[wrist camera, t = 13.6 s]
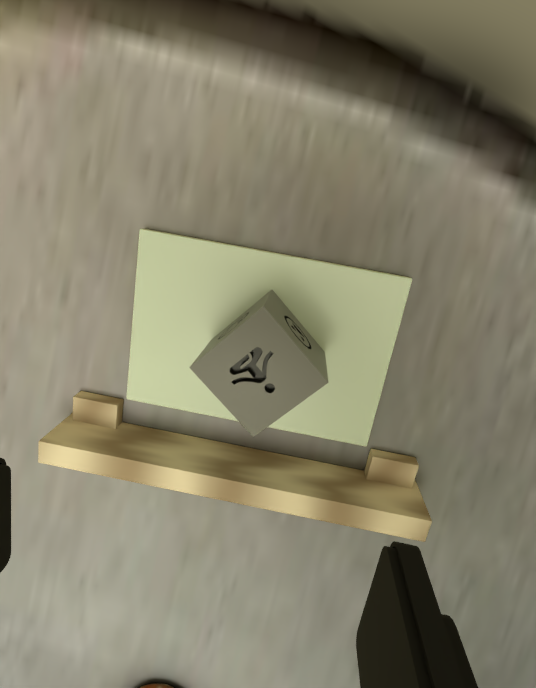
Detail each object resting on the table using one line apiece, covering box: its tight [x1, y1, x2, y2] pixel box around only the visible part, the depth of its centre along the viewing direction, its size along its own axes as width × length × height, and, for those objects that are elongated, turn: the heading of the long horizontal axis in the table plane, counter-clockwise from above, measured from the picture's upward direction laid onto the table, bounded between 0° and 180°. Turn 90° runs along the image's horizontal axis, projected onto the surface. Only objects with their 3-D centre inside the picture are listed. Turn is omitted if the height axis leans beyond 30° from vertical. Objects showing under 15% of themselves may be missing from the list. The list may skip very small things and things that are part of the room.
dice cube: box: [189, 290, 329, 437], centre depth 24 cm, size 5×5×5 cm
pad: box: [127, 229, 412, 447], centre depth 27 cm, size 16×11×1 cm
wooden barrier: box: [38, 391, 432, 542], centre depth 28 cm, size 24×5×4 cm, turn 80°
